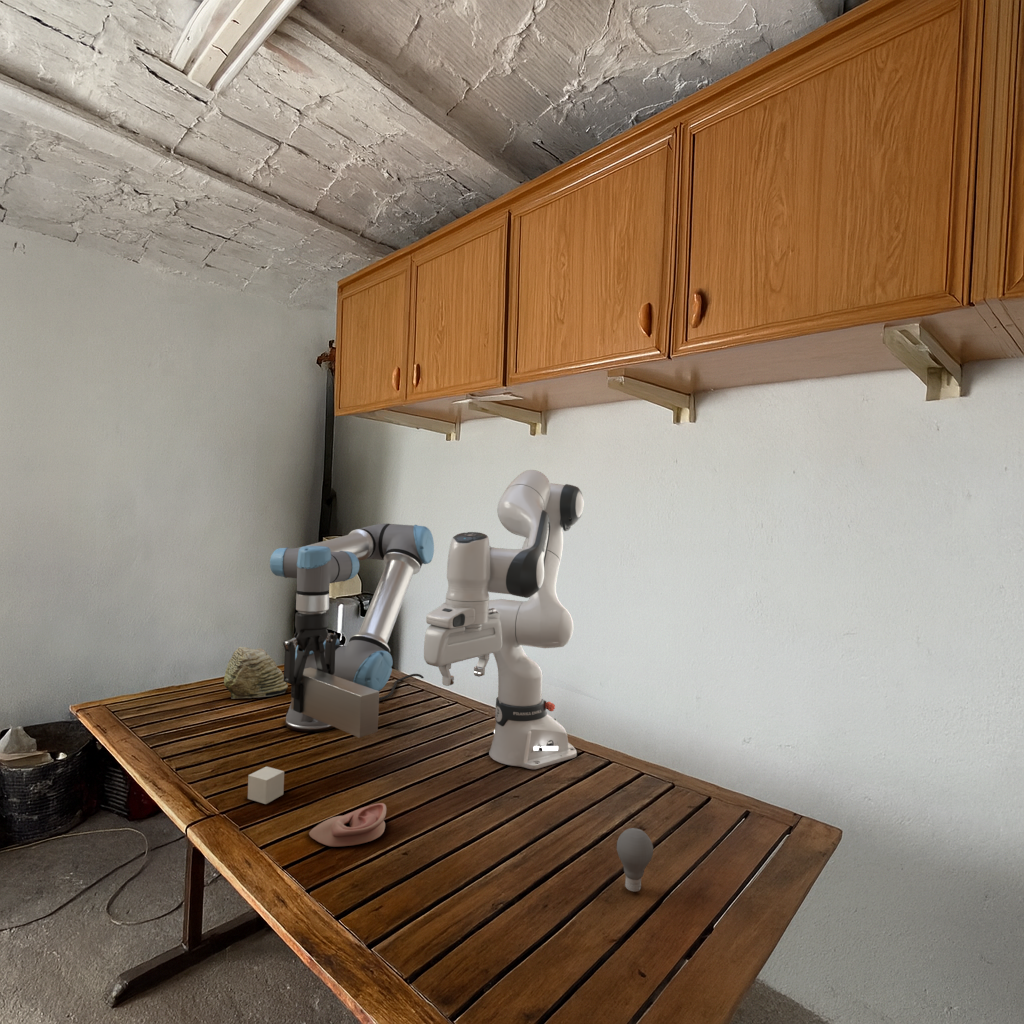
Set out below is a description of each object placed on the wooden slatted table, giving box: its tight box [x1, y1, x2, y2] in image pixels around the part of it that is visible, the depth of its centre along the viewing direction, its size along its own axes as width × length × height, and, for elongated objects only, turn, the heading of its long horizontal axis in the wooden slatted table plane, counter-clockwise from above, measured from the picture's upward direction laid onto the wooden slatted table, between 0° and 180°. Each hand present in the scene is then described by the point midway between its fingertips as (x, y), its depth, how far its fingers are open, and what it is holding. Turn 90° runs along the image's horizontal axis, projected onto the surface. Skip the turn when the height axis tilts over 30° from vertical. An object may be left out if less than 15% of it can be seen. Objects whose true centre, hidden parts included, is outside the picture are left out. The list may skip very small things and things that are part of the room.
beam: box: [290, 668, 380, 739], centre depth 145 cm, size 5×26×9 cm, turn 51°
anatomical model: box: [308, 802, 387, 848], centre depth 120 cm, size 13×4×12 cm
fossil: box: [223, 646, 289, 700], centre depth 198 cm, size 9×18×15 cm, turn 132°
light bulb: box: [616, 827, 654, 893], centre depth 106 cm, size 6×6×10 cm
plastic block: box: [247, 766, 285, 805], centre depth 133 cm, size 5×5×5 cm
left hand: (308, 708), depth 151 cm, fingers closed on beam, 5 cm apart
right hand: (464, 680), depth 129 cm, fingers open, 8 cm apart
